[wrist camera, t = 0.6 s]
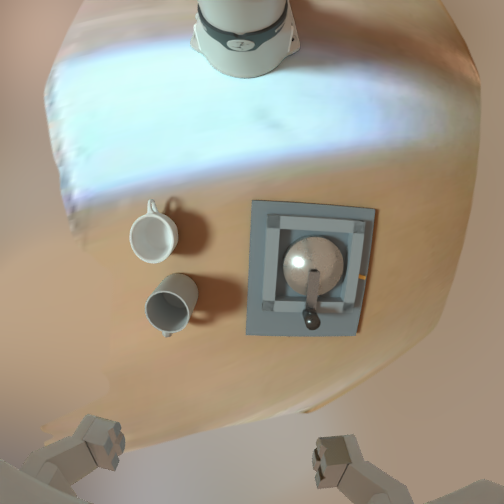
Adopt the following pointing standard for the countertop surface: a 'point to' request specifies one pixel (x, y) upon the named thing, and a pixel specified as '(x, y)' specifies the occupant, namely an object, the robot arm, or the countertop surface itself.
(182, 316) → the cup
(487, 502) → the robot arm
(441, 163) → the countertop surface
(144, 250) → the teacup
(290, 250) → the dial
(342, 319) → the panel
